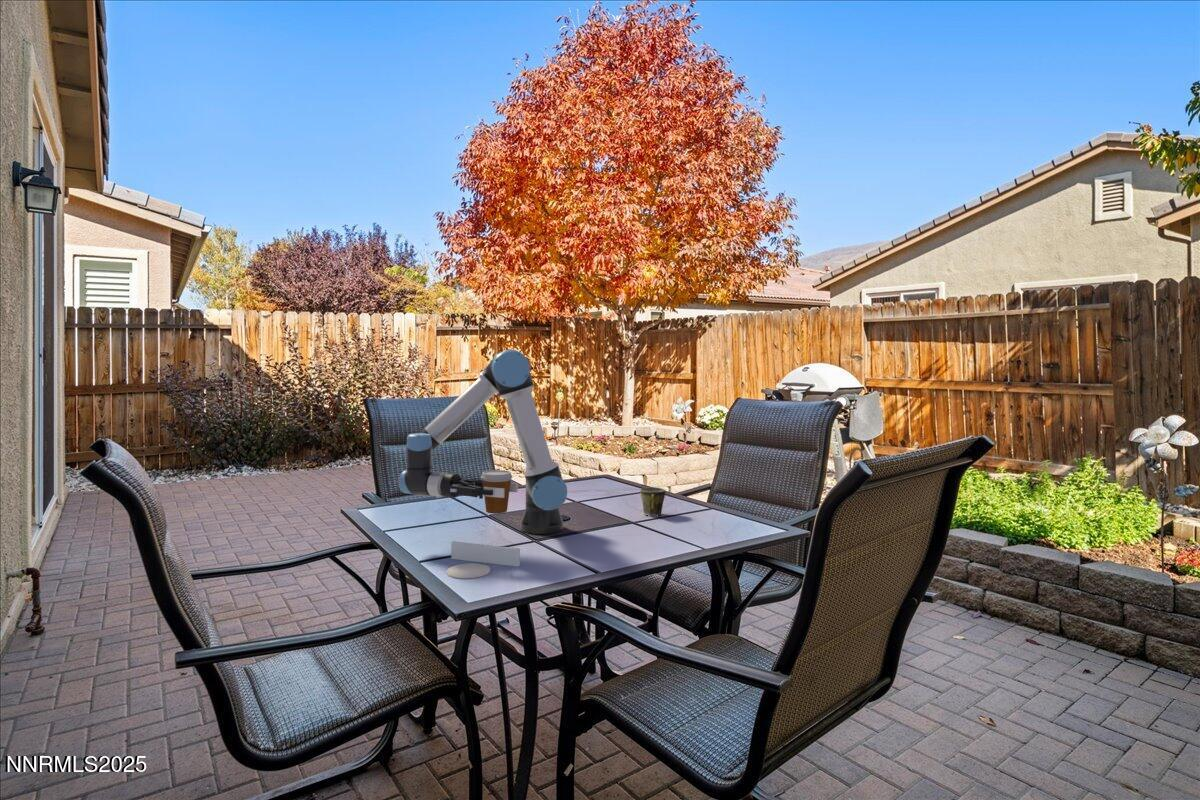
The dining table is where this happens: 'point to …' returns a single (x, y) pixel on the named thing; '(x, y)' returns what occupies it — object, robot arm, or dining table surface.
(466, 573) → the mat
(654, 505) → the ceramic cup
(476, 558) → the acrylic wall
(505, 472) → the disposable coffee cup
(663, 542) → the dining table surface
